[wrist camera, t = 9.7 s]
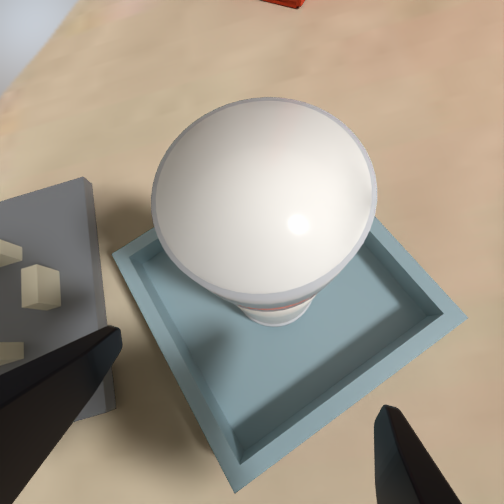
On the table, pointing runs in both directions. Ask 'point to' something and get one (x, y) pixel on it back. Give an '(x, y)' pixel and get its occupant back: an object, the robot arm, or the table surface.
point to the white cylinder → (264, 204)
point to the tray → (286, 346)
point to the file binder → (287, 2)
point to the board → (51, 278)
